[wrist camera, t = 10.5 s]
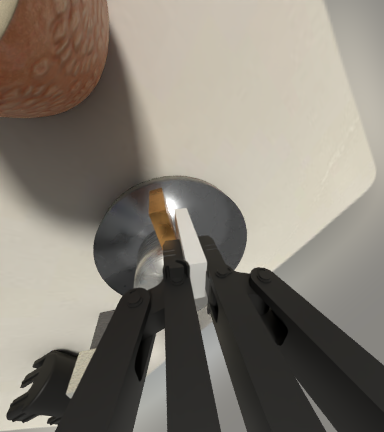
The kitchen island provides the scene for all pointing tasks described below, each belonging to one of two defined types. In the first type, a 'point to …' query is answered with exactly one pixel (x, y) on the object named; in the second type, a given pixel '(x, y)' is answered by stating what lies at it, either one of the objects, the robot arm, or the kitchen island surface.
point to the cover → (154, 266)
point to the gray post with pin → (88, 352)
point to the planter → (50, 54)
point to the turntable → (164, 224)
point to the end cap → (45, 389)
